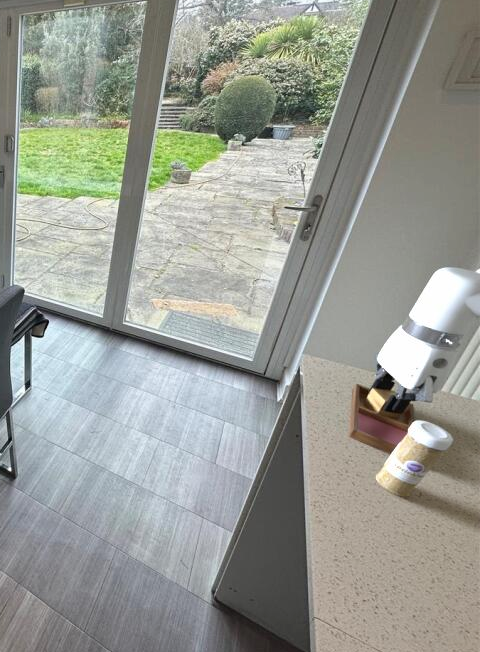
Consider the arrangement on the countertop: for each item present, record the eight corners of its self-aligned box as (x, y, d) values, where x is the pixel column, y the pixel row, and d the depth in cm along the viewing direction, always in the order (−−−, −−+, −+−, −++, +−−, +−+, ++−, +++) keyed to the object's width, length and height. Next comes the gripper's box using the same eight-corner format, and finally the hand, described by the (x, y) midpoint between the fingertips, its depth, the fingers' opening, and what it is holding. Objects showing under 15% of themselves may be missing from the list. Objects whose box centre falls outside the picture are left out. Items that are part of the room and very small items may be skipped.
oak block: (385, 404, 87) (394, 390, 86) (398, 418, 84) (408, 404, 82) (363, 401, 88) (372, 387, 86) (376, 415, 85) (385, 401, 83)
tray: (408, 411, 87) (413, 404, 86) (413, 464, 75) (419, 456, 74) (352, 390, 92) (356, 383, 91) (348, 436, 80) (353, 429, 79)
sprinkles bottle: (382, 492, 70) (423, 436, 64) (369, 470, 73) (407, 415, 67) (416, 502, 68) (461, 445, 62) (402, 479, 72) (443, 424, 66)
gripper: (495, 362, 69) (437, 438, 77) (420, 311, 84) (377, 379, 92) (443, 355, 70) (391, 431, 79) (378, 306, 85) (340, 374, 93)
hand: (384, 402), depth 85 cm, fingers closed on oak block, 4 cm apart
